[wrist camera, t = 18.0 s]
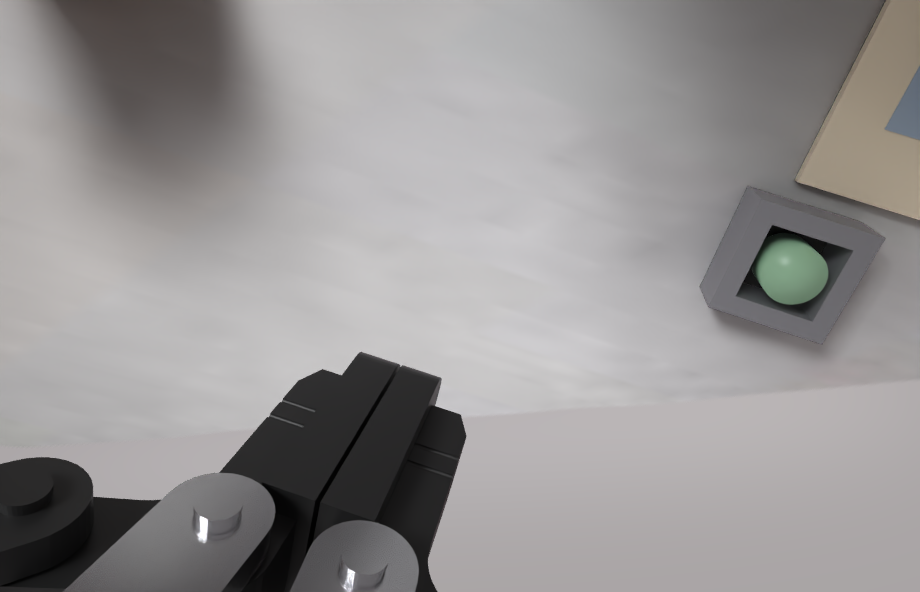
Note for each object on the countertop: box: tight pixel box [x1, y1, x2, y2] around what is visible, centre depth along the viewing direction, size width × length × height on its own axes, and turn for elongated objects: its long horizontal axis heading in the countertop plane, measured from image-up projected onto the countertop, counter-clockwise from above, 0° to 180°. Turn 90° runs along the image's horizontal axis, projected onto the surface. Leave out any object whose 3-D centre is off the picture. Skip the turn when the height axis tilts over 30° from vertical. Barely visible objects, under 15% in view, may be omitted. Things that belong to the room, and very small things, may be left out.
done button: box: [751, 233, 828, 305], centre depth 32 cm, size 3×3×2 cm
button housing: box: [700, 186, 885, 344], centre depth 32 cm, size 6×6×3 cm
